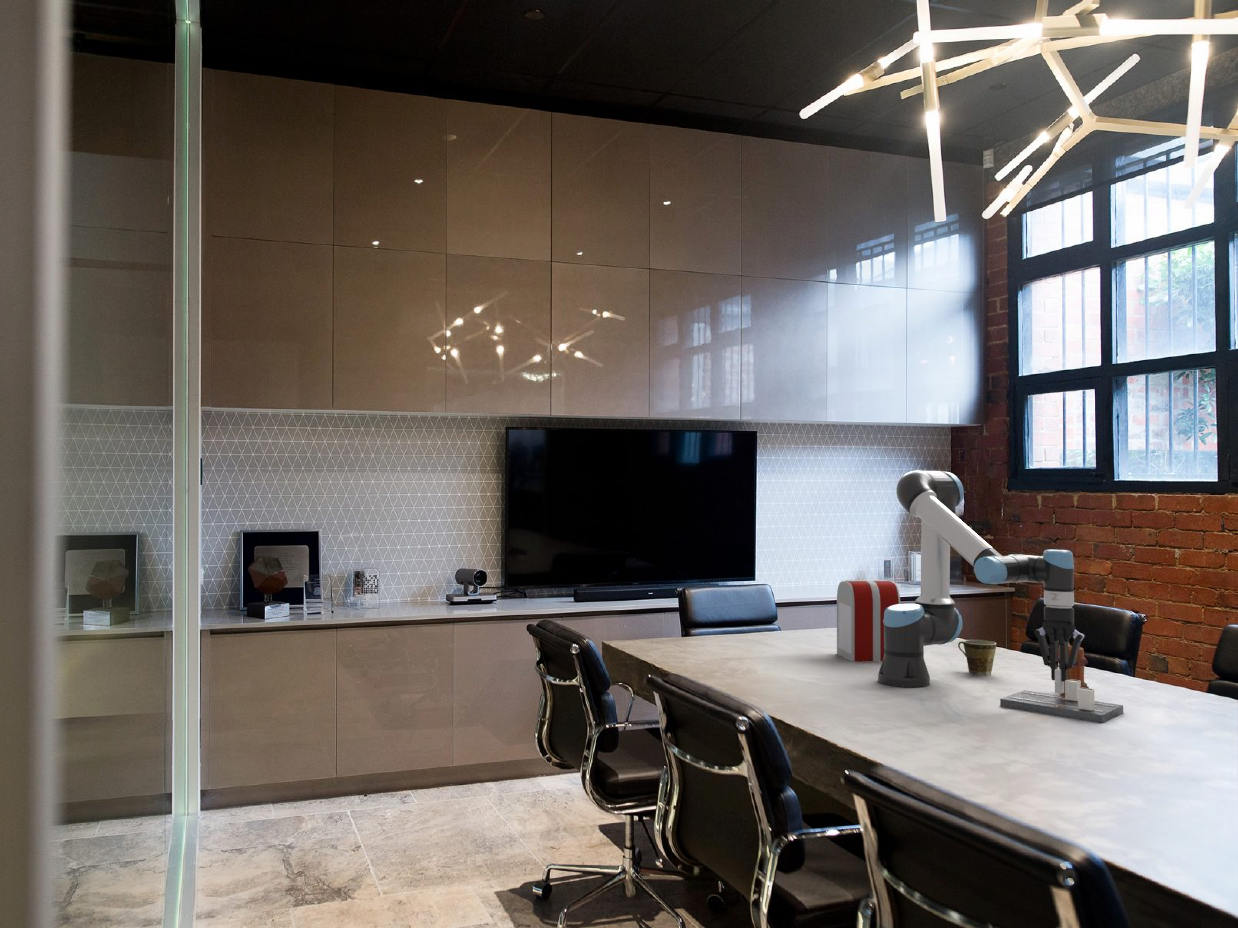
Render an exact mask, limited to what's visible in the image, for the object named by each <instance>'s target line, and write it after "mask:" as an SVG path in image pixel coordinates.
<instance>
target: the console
mask: <svg viewBox="0 0 1238 928" xmlns="http://www.w3.org/2000/svg"><path fill="white" fill-rule="evenodd" d="M999 701H1000V702H999V704H1000V707H1003V708H1010V709H1014V710H1015V709H1016V710H1020V711H1027V712H1033V713H1040V714H1046V715H1051V716H1058V717H1064V718H1069V719H1070V718H1071V719H1075V720H1081V721H1089V722H1093V723H1099V724H1104V723H1105V722H1108V721H1109V720H1112V719H1114V718H1116V717H1119V716H1120V715H1122V714H1124V705H1122V704H1116V703H1112V702H1111V703H1110V702H1104V701H1097V700H1094V709H1092V710H1085V709H1079V708H1078V701H1074V700H1067V699H1065V696H1060V694H1057V695H1056V694H1051V693H1044V692H1037V691H1032V690H1025V689H1024V690H1021V691H1018V692H1016V693H1012V694H1009V695H1007V696H1003V697H1002V698H999Z"/></svg>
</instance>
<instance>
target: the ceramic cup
mask: <svg viewBox="0 0 1238 928" xmlns="http://www.w3.org/2000/svg"><path fill="white" fill-rule="evenodd" d="M961 644H963V649H962V648H961ZM957 646H958V647H957V648H958V649H959V651H960V652H961V653H962V654H963V655H964V656H965V657H966V664H967V668H968V673H969V674H970V675H975V676H989V675H990V676H991V675H992V671H993V665H994V659H995V656H996V651H997V642H995V641H991V640H984V639H965V640H963V641H959V642H958V644H957Z"/></svg>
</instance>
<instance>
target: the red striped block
mask: <svg viewBox="0 0 1238 928" xmlns="http://www.w3.org/2000/svg"><path fill="white" fill-rule="evenodd" d="M897 604H901V595H900V590H899V587H898V585H897V584H896V583H895V582H893V581H892V580H889V579H862V580H861V579H855V580H854V579H853V580H852V579H850V580H849V579H846V580H841V581H840V582H839V584H838V587H837V593H836V654H837V655H838V656H840V657H842V658H845V659H846V660H848V661H849V662H855V663H857V662H859V663H860V662H863V663H864V662H875V663H876V662H882V661H883V658H884V623H883V620H884V612H885V610H886V608H888V607H889V606H892V605H897Z"/></svg>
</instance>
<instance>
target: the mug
mask: <svg viewBox="0 0 1238 928" xmlns="http://www.w3.org/2000/svg"><path fill="white" fill-rule="evenodd" d="M1071 649H1072V645H1071V644H1070V642H1069V643H1068V660H1069V656H1070V652H1071ZM1084 650H1085V649H1084V648H1083V647H1081V646H1080V648H1079V652H1078V656H1077V660H1076V664H1075V667H1073V668H1070V669H1068V679H1072V680H1079V681H1081V687H1083V688H1090V687H1089V686H1088V684H1087V682H1085V666H1086V665H1088V663H1089V661H1088V660H1087V658H1086V657H1085V653H1084V652H1085V651H1084ZM1058 666H1059V667H1058V668H1060V644H1059V643H1058ZM1059 696H1065V682H1064V693H1062V694H1059Z"/></svg>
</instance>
